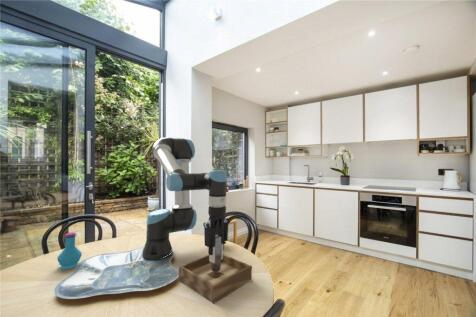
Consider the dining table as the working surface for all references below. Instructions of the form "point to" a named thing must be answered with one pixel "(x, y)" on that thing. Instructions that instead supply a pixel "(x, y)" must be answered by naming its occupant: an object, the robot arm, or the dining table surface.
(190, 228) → the robot arm
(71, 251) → the perfume bottle
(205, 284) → the box
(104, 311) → the dining table surface
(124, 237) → the dining table surface
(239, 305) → the dining table surface
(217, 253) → the peg
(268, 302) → the dining table surface
